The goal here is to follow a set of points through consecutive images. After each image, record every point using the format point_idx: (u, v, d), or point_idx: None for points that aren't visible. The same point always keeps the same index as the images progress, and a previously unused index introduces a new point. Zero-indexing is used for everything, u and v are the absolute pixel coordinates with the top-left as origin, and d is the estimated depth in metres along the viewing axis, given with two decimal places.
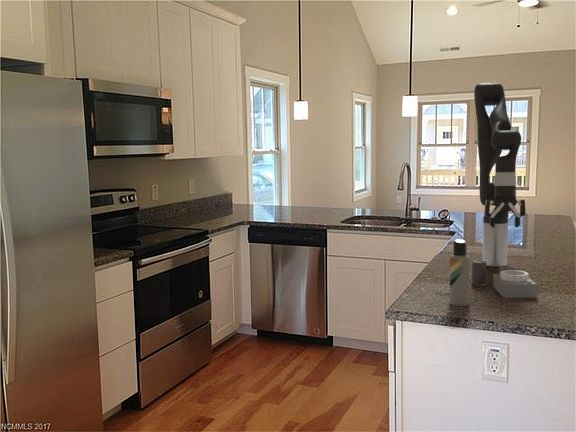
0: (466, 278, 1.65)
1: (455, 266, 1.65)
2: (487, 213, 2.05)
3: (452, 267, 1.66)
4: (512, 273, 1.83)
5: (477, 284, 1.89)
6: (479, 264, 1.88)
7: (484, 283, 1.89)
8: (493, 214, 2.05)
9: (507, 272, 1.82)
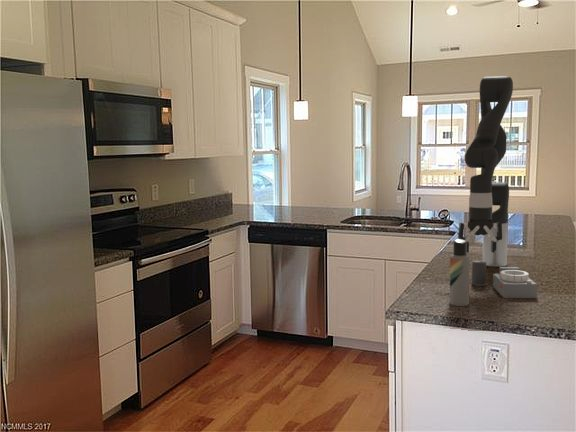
0: (466, 278, 1.65)
1: (455, 266, 1.65)
2: (461, 237, 1.89)
3: (452, 267, 1.66)
4: (512, 273, 1.83)
5: (477, 284, 1.89)
6: (479, 264, 1.88)
7: (484, 283, 1.89)
8: (467, 238, 1.88)
9: (507, 272, 1.82)
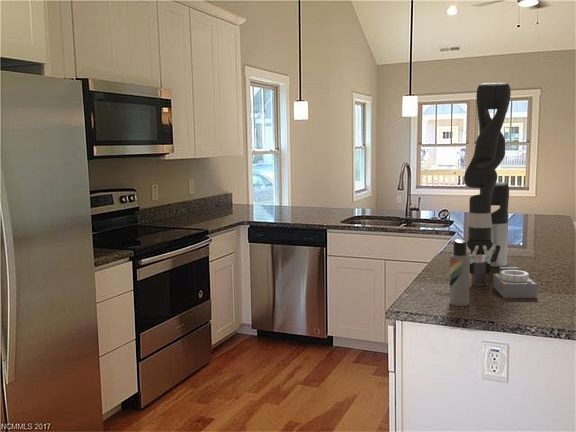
0: (466, 278, 1.65)
1: (455, 266, 1.65)
2: None
3: (452, 267, 1.66)
4: (512, 273, 1.83)
5: (477, 284, 1.89)
6: (479, 264, 1.88)
7: (484, 283, 1.89)
8: (471, 260, 1.89)
9: (507, 272, 1.82)
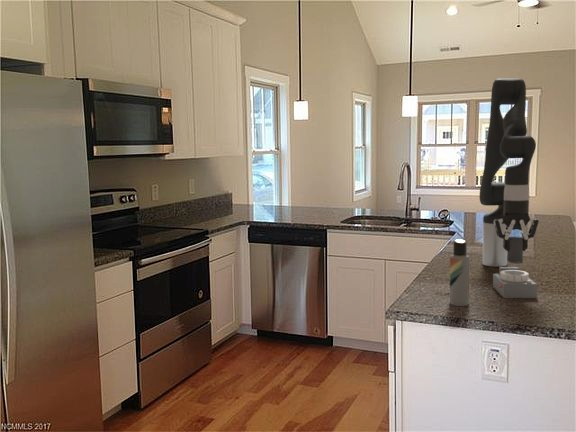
0: (466, 278, 1.65)
1: (455, 266, 1.65)
2: (500, 234, 1.77)
3: (452, 267, 1.66)
4: (512, 273, 1.83)
5: (513, 261, 1.77)
6: (516, 240, 1.76)
7: (521, 260, 1.77)
8: (507, 235, 1.77)
9: (507, 272, 1.82)
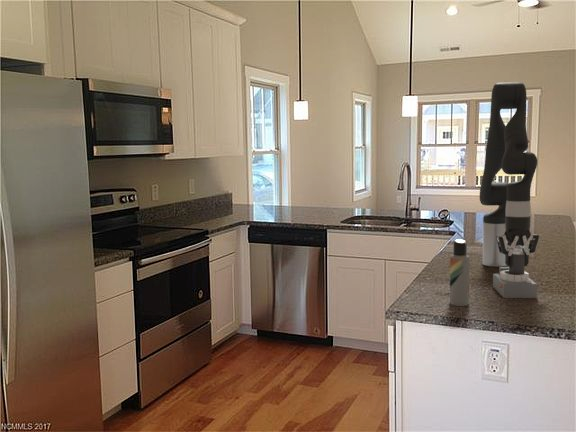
0: (466, 278, 1.65)
1: (455, 266, 1.65)
2: (504, 251, 1.77)
3: (452, 267, 1.66)
4: None
5: None
6: (519, 256, 1.76)
7: None
8: (511, 252, 1.77)
9: (507, 272, 1.82)
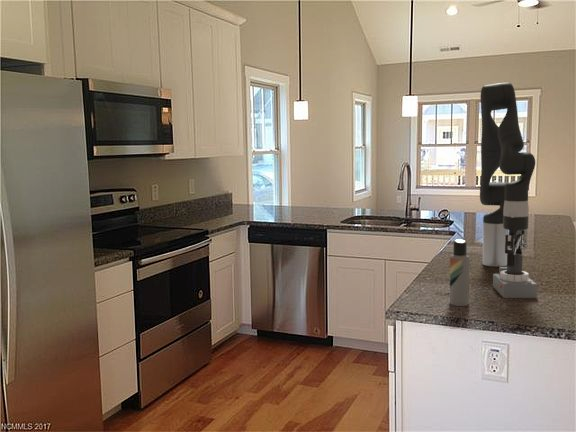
0: (466, 278, 1.65)
1: (455, 266, 1.65)
2: (513, 250, 1.73)
3: (452, 267, 1.66)
4: None
5: None
6: (521, 256, 1.77)
7: None
8: (515, 250, 1.74)
9: None
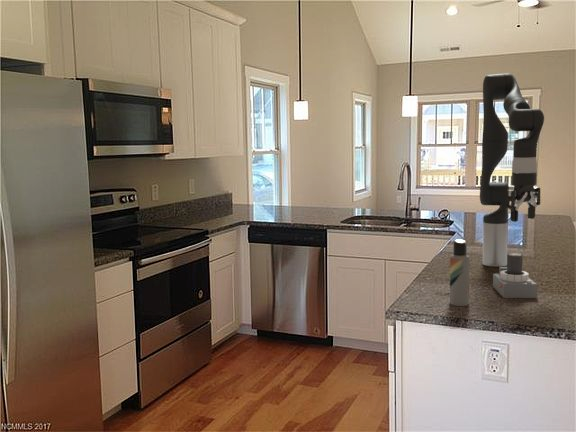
0: (466, 278, 1.65)
1: (455, 266, 1.65)
2: (513, 205, 1.76)
3: (452, 267, 1.66)
4: None
5: None
6: (521, 256, 1.77)
7: None
8: (517, 206, 1.78)
9: None
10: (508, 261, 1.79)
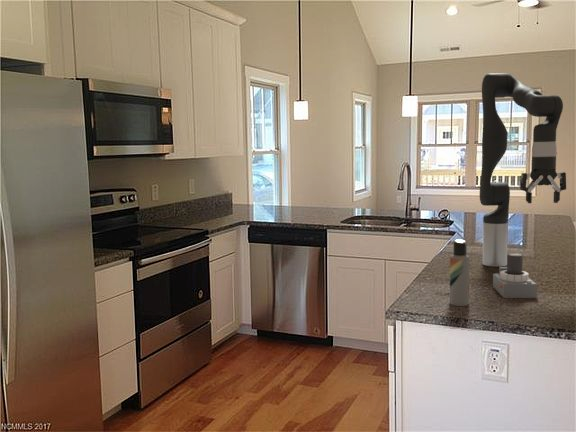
0: (466, 278, 1.65)
1: (455, 266, 1.65)
2: (523, 187, 1.86)
3: (452, 267, 1.66)
4: None
5: None
6: (521, 256, 1.77)
7: None
8: (530, 188, 1.86)
9: None
10: (508, 261, 1.79)
